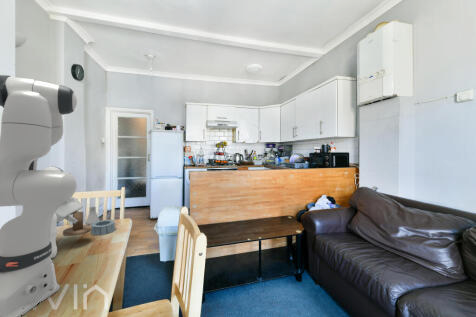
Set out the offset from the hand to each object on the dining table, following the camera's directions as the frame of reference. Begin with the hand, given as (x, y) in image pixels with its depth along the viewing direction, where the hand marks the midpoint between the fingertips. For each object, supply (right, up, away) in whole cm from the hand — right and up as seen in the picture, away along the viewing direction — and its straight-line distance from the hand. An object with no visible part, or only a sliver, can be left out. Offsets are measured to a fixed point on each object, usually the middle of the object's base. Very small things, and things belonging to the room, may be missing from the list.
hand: (79, 220), depth 97 cm
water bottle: (-2, -12, -15) cm, 19 cm away
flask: (-13, -10, +27) cm, 31 cm away
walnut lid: (-1, -5, 0) cm, 5 cm away
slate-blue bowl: (+2, -11, +15) cm, 18 cm away
